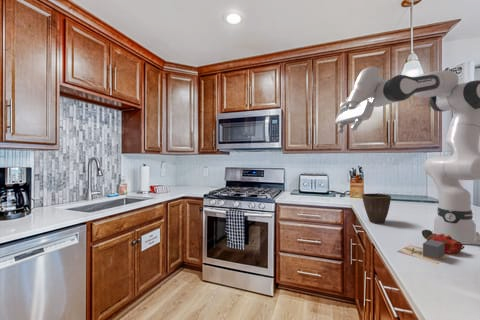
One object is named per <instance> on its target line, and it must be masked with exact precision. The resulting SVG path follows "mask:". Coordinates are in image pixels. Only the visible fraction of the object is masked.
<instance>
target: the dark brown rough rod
mask: <svg viewBox="0 0 480 320" xmlns="http://www.w3.org/2000/svg"><path fill="white" fill-rule="evenodd" d="M421 234H422V237H423V238H425V239H427V238H428V237H430V235H434V234H433V233H432V232H431V230H430V229H423V230H421Z"/></svg>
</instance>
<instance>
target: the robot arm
mask: <svg viewBox="0 0 480 320" xmlns="http://www.w3.org/2000/svg"><path fill="white" fill-rule="evenodd" d="M349 93H350V94H349V96H347V98H346V99H345V100H344V101H342V102H341V103H340V105H339V110H338V112H337V115H336V117H335V120H334V121H335V122H334V123H335V125H337V126H338V128H337V129H338V130H337V133H339V134H343V133H344V130H345V129H344V128H345V127H346V125H348V126H349V125H351V124H352V125H351V127H350V130H351V131H353V132H355V131H357V130H358V128H359V126H361V124H362V123H363V121H367V120H369V119H371V117H372V116H373V115H372V114H373V112H374V108H380V107H384V106H387V105H390V104H394V103H397V102H401V101H405V100H408V99H409V98H410V97H412V96H413V95H414V96H415V97H416V98H419V99H424V98H426V99H427V98H429V106H430V107H431V108H432V110H433V111H436V112H447V111H453V116H452V118H451V120H450V122H449V127H448V130H447V134H446V138H445V143H446V145H447V146H449V147H450V148H452V155H438V156H437V155H436V156H433V157H432V156H431V157H429V158H427V159H426V160H425V162H424V164H423V165H424V166H423V170H424V171H425V172H424V173H426V175H428V176H429V177H430V178H431V180H432V181H433V182H434V184H435V186H436V190H437V195H438V196H437V197H438V207H437V216H436V217H434V218H433V226H432V227H433V228H432V231H431V230H430V231H431V232H432V233H433V234H434V233H435V234H437V235H439V234H444V235H445V236H448V235H450V237H452V239H454V240H456V241H458V242H461V243H462V244H463V245H476V246H477V245H478V246H480V233H479V232H477V224H476V223H475V221H474V220H473V218H474V217H473V209H472V208H471V207H472V202H471V198H472V197H471V192H470V191H468V190H467V189H466V188H464V187H463V186H462V184H461V183H460V181H459V180H461V181H477V180H480V150H479V140H480V80H470V81H468V82H463V83H459V75H458V74H457V73H456V72H455V71H452V70H434V71H429V72H425V73H423V74H420V75H418V76H414V77H413V76H410V75H409V76H408V75H405V74H397V75H395V76H393V77H391V78H389V79H388V80H386V81H385V79H384V78H383V75H382V70H381V68H380V67H376V66H368V67H366V68H363V69H362V70H361V71H359V74H358V75H357V78H356V80H355V82H354V84H353V89H352V90H351V91H350V92H349Z"/></svg>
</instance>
